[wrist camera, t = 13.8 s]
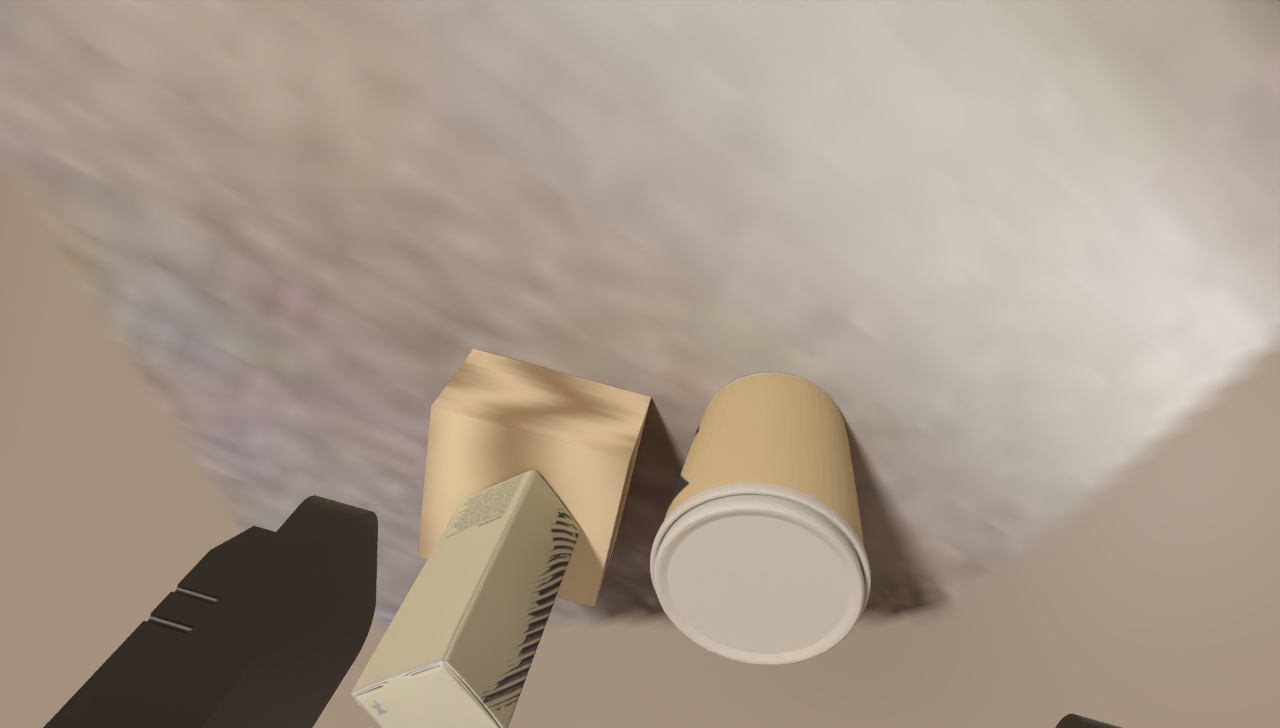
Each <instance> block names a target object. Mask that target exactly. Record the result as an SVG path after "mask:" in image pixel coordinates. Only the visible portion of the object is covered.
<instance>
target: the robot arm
mask: <svg viewBox="0 0 1280 728" xmlns="http://www.w3.org/2000/svg"><path fill="white" fill-rule="evenodd" d="M377 540H378V520H377V516H376V514H375V513H374V512H372V511H368V510H365V509H361V508H357V507H354V506H350V505H347V504H343V503H340V502H336V501H333V500H329V499H326V498H322V497H319V496H315V495H314V496H310V497H308V498H307V499H305V500H304V501H303V502H302V503H301V504H300V505H299V506H298V508H297V509H296V510H295V511H294V512H293V513H292V514H291V516H290V517H289V518H288V519H287V520H286V521H285V523H284V524H283V525H282V526H281V527H280V528H279V529H278V531H277V532H274V531H270V530H267V529H263V528H260V527H256V526H253V527H251V528H249V529H248V530H246V531H244V532H242V533H240V534H239V535H237V536H235V537H233V538H231V539H230V540H228V541H226V542H224V543H222V544H221V545H219V546H217V547H215V548H213V549H212V550H210V551H209V552H208V553H207V554H206V555H205V556H204V557H203V558H202V559H201V560H200V562H199V563H198V564H197V565H196V566H195V567H194V568H193V569H192V570H191V571H190V572H189V573H188V574H187V575H186V576H185V577H184V579H183V580H182V581H181V582H180V583H179V584H178V587H177V589H176V591H175V592H170V594H169V595H168V596H167V597H166V598H165V599H164V600H163V601H162V602H161V603H160V604H159V605H158V606H157V608H155V609H154V610H153V612H152V613H151V616H150V618H149V620H148V621H147V622H146V621H143V622H142V623H141V624H140V625H139V627H137V629H136V630H135V631H134V632H133V633H132V634H131V635H130V636H129V637H128V638H127V639H126V640H125V641H124V642H123V644H121V646H120V647H119V648H118V649H117V650H116V651H115V652H114V653H113V654H112V655H111V656H110V657H109V659H107V660H106V662H105V663H104V664H103V665H102V666H101V667H100V668H99V669H98V670H97V671H96V672H95V673H94V675H92V677H91V678H90V679H89V680H88V681H87V682H86V683H85V684H84V685H83V686H82V687H81V688H80V689H79V690H78V691H77V693H76V694H75V695H74V696H73V697H72V698H71V699H70V700H69V701H68V702H67V703H66V704H65V705H64V706H63V707H62V708H61V710H60V711H59V712H58V713H57V714H56V715H55V716H54V717H53V718H52V719H51V720H50V721H49V722H48V723H47V724H46V725H45V726H44V727H43V728H312V727H313V726H314V724H315V723H316V721H317V719H318V718H319V716H320V715H321V713H322V711H323V710H324V708H325V707H326V705H327V703H328V702H329V700H330V699H331V697H332V695H333V694H334V692H335V691H336V689H337V688H338V686H339V684H340V683H341V681H342V680H343V678H344V676H345V675H346V673H347V671H348V670H349V669H350V667H351V665H352V664H353V662H354V661H355V659H356V657H357V656H358V654H359V652H360V650H361V648H362V646H363V644H364V642H365V640H366V637H367V635H368V632H369V629H370V626H371V623H372V620H373V616H374V611H375V605H376V578H377ZM1056 728H1121V727H1117V726H1113V725H1110V724H1107V723H1103V722H1099V721H1096V720H1093V719H1089V718H1086V717H1082V716H1079V715H1075V714H1069V715H1066V716H1065V717H1064V718H1062V719H1061V720H1060V722H1059V723H1058V725H1057V726H1056Z"/></svg>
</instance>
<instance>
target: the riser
mask: <svg viewBox="0 0 1280 728" xmlns="http://www.w3.org/2000/svg"><path fill="white" fill-rule="evenodd" d="M650 400H651V397H649V396H645V395H641V394H638V393H634V392H630V391H627V390H623V389H619V388H616V387H612V386H608V385H605V384H601V383H597V382H594V381H590V380H586V379H583V378H579V377H575V376H571V375H568V374H564V373H560V372H557V371H553V370H549V369H546V368H542V367H538V366H535V365H531V364H527V363H524V362H520V361H516V360H513V359H509V358H505V357H502V356H498V355H494V354H491V353H487V352H483V351H480V350H476V349H473V351H472V352H471V353H470V355H469V356H468V357H467V359H466V360H465V361H464V363H463V364H462V366H461V367H460V368H459V370H458V371H457V372H456V374H455V375H454V376H453V378H452V379H451V380H450V382H449V383H448V384H447V386H446V387H445V389H444V390H443V391H442V393H441V394H440V395H439V397H438V398H437V399H436V401H435V402H434V403H433V405H432V406H431V415H430V426H429V437H428V448H427V459H426V470H425V481H424V492H423V503H422V514H421V525H420V536H419V547H418V556H419V557H422V558H425V559H428V558H429V556H430V555H431V553H432V551H433V549H434V548H435V546H436V544H437V542H438V541H439V539H440V537H441V535H442V534H443V532H444V530H445V528H446V526H447V525H448V523H449V521H450V519H451V518H452V516H453V514H454V512H455V511H456V509H457V507H458V505H459V504H460V502H461V501H463V500H465V499H467V498H469V497H471V496H473V495H475V494H477V493H480V492H482V491H484V490H486V489H488V488H490V487H493V486H495V485H497V484H499V483H502V482H504V481H506V480H509V479H511V478H513V477H515V476H518V475H520V474H523V473H525V472H528V471H531V470H535V471H537V472H538V473H539V474H540V476H541V477H542V478H543V479H544V481H545V482H546V483H547V484H548V486H549V487H550V488H551V489H552V491H553V492H554V493H555V494H556V496H557V497H558V498H559V500H560V501H561V503H562V504H563V505H564V507H565V508H566V509H567V511H568V512H569V514H570V515H571V516H572V518H573V519H574V521H575V522H576V524H577V525H578V526H579V528H580V533H579V536H578V538H577V541H576V543H575V546H574V549H573V551H572V555H571V557H570V561H569V563H568V565H567V569H566V571H565V573H564V577H563V579H562V582H561V584H560V587H559V590H558V593H557V595H556V596H557V597H561V598H564V599H568V600H571V601H575V602H578V603H582V604H585V605H588V606H592V607H595V604H596V601H597V598H598V595H599V592H600V589H601V585H602V582H603V579H604V576H605V573H606V570H607V567H608V564H609V560H610V557H611V554H612V551H613V548H614V545H615V542H616V539H617V536H618V532H619V527H620V523H621V519H622V515H623V511H624V507H625V503H626V499H627V495H628V491H629V486H630V482H631V478H632V474H633V470H634V466H635V462H636V458H637V454H638V449H639V445H640V441H641V437H642V433H643V429H644V425H645V421H646V417H647V413H648V408H649V404H650Z"/></svg>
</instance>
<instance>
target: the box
mask: <svg viewBox="0 0 1280 728" xmlns="http://www.w3.org/2000/svg"><path fill="white" fill-rule="evenodd" d="M579 533H580V528H579V526H578V525H577V524H576V522H575V521H574V519H573V518H572V516H571V515H570V514H569V512H568V511H567V509H566V508H565V507H564V505H563V504H562V503H561V501H560V500H559V498H558V497H557V496H556V494H555V493H554V492H553V491H552V489H551V488H550V487H549V486H548V484H547V483H546V482H545V481H544V479H543V478H542V477H541V476H540V474H539V473H538V472H537V471H535V470H531V471H528V472H525V473H523V474H520V475H518V476H515V477H513V478H511V479H509V480H506V481H504V482H502V483H499V484H497V485H495V486H493V487H490V488H488V489H486V490H484V491H482V492H480V493H477V494H475V495H473V496H471V497H469V498H467V499H465V500H463V501H461V502H460V504H459V505H458V507H457V509H456V511H455V512H454V514H453V516H452V518H451V519H450V521H449V523H448V525H447V526H446V528H445V530H444V532H443V534H442V535H441V537H440V539H439V541H438V542H437V544H436V546H435V548H434V549H433V551H432V553H431V555H430V556H429V558H428V560H427V562H426V563H425V565H424V567H423V569H422V570H421V572H420V574H419V575H418V577H417V579H416V581H415V582H414V584H413V586H412V588H411V589H410V591H409V593H408V594H407V596H406V598H405V600H404V602H403V603H402V605H401V607H400V608H399V610H398V612H397V614H396V615H395V617H394V619H393V620H392V622H391V624H390V626H389V627H388V629H387V631H386V633H385V634H384V636H383V638H382V640H381V642H380V644H379V645H378V647H377V649H376V650H375V652H374V654H373V656H372V657H371V659H370V661H369V662H368V664H367V666H366V668H365V669H364V671H363V673H362V675H361V676H360V678H359V680H358V682H357V683H356V685H355V687H354V689H353V690H352V693H351V694H352V696H353V697H354V699H355V700H356V701H357V702H358V703H359V704H360V705H361V706H362V707H363V708H364V709H365V710H366V711H367V713H368V714H369V715H370V716H371V717H372V718H373V719H374V720H375V721H376V722H377V723H378V724H379V725H380V726H381V727H382V728H508V726H509V724H510V721H511V718H512V715H513V713H514V710H515V707H516V704H517V701H518V698H519V696H520V693H521V690H522V688H523V685H524V682H525V679H526V677H527V673H528V671H529V668H530V666H531V663H532V659H533V657H534V655H535V652H536V649H537V646H538V644H539V642H540V639H541V636H542V633H543V631H544V628H545V625H546V622H547V620H548V617H549V615H550V612H551V609H552V606H553V604H554V601H555V598H556V595H557V593H558V590H559V587H560V584H561V582H562V579H563V577H564V573H565V571H566V569H567V565H568V563H569V561H570V557H571V555H572V551H573V549H574V546H575V543H576V541H577V538H578V536H579Z"/></svg>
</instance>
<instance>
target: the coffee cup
mask: <svg viewBox="0 0 1280 728" xmlns="http://www.w3.org/2000/svg"><path fill="white" fill-rule="evenodd" d="M650 572H651V579H652V583H653V586H654V589H655V591H656V594H657V597H658V599H659V602H660V604H661V606H662V608H663V610H664V612H665V613H666V615H667V616H668V618H669V619H670V620H671V622H672V623H673V624H674V625H675V626H676V627H677V628H678V629H679V630H680V631H681V632H682V633H683V634H684V635H685V636H687V637H689V639H691V640H692V641H694V642H695V643H696V644H698V645H699V646H701V647H703V648H705V649H707V650H709V651H711V652H713V653H715V654H718V655H720V656H723V657H726V658H729V659H733V660H736V661H740V662H746V663H752V664H763V665H764V664H765V665H774V664H775V665H776V664H787V663H793V662H799V661H803V660H806V659H809V658H812V657H815V656H817V655H820V654H822V653H823V652H825V651H827V650H829V649H831V648H832V647H834V646H835V645H837V644H838V643H839V642H840V641H841V640H843V639H844V638H845V637H846V635H847V634H848V633H849V632H850V631H851V629H852V628H853V627H854V625H855V624H856V622H857V621H858V620H859V618H860V617H861V615H862V613H863V611H864V610H865V607H866V605H867V602H868V599H869V594H870V588H871V574H870V566H869V562H868V558H867V554H866V551H865V549H864V543H863V535H862V527H861V520H860V513H859V506H858V499H857V492H856V486H855V479H854V473H853V466H852V460H851V453H850V447H849V441H848V436H847V432H846V427H845V422H844V420H843V417H842V414H841V412H840V411H839V409H838V407H837V405H836V404H835V403H834V401H833V400H832V399H831V398H830V397H829V395H828V394H826V393H825V392H824V391H823V390H822V389H821V388H819V387H818V386H816V385H814V384H813V383H811V382H810V381H807V380H805V379H803V378H800V377H797V376H794V375H790V374H785V373H777V372H765V373H756V374H752V375H748V376H745V377H742V378H739V379H737V380H735V381H733V382H731V383H730V384H728V385H726V386H725V387H724V388H723V389H721V390H720V391H719V392H718V393H717V394H716V395H715V396H714V397H713V398H712V400H711V401H710V403H709V404H708V406H707V408H706V410H705V412H704V414H703V416H702V419H701V421H700V424H699V426H698V429H697V431H696V434H695V437H694V439H693V442H692V445H691V448H690V450H689V453H688V456H687V458H686V461H685V464H684V466H683V469H682V472H681V474H680V477H679V480H678V483H677V485H676V488H675V491H674V493H673V496H672V499H671V502H670V505H669V508H668V511H667V513H666V517H665V520H664V522H663V523H662V525H661V526H660V528H659V530H658V533H657V535H656V537H655V540H654V543H653V546H652V550H651V556H650Z"/></svg>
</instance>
